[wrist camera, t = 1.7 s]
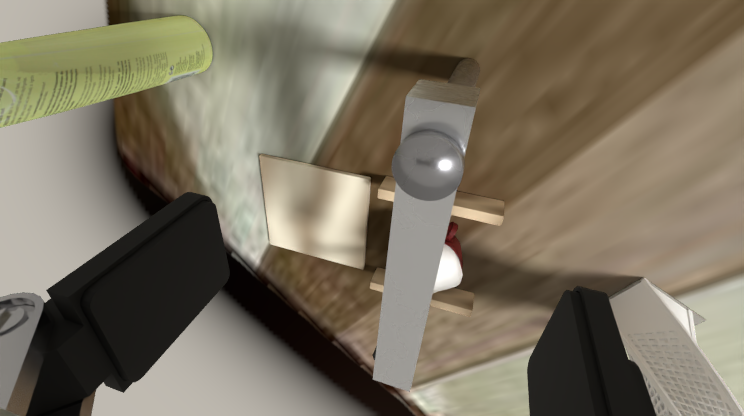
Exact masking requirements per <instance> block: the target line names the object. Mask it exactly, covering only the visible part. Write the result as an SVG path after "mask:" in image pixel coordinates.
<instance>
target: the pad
mask: <svg viewBox="0 0 744 416" xmlns="http://www.w3.org/2000/svg"><path fill="white" fill-rule="evenodd" d="M259 159H260V167H261V175H262V183H263V191H264V199H265V207H266V215H267V223H268V231H269V239H270V244H271V245H275V246H279V247H282V248H286V249H290V250H293V251H297V252H301V253H304V254H308V255H312V256H315V257H319V258H322V259H326V260H330V261H333V262H337V263H341V264H344V265H348V266H352V267H355V268H359V269H364V267H365V253H366V239H367V225H368V211H369V197H370V183H371V177H367V176H363V175H358V174H353V173H349V172H344V171H339V170H335V169H330V168H326V167H321V166H316V165H312V164H307V163H302V162H298V161H293V160H289V159H284V158H279V157H275V156H270V155H265V154H261V155H259Z"/></svg>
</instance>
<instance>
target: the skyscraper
mask: <svg viewBox="0 0 744 416" xmlns="http://www.w3.org/2000/svg"><path fill="white" fill-rule="evenodd" d="M608 298H609V301H610V304H611V307H612V310H613V314H614V317H615V320H616V323H617V326H618V329H619V332H620V335H621V339H622V342H623V345H624V346H625V348H626V350H627V352H628V355H629V358H630V360H631V361H634V362H635V363H636V364H637V365H638V366H639V368H640V370H641V372H642V375H643V378H644V381H645V384H646V386H647V389H648V392H649V395H650V398H651V401H652V404H653V407H654V410H655V413H656V416H744V410H743V409H742V407H741V406H740V404H739V403H738V401H737V400H736V398H735V397H734V395H733V394H732V392H731V391H730V389H729V388H728V386H727V385H726V383H725V382H724V380H723V379H722V377H721V376H720V375H719V373H718V372H717V370H716V369H715V368H714V366H713V365H712V363H711V362H710V361H709V359H708V358H707V356H706V355H705V354H704V352H703V351H702V349H701V348H700V347H699V345H698V344H697V341H696V334H695V327H694V326H695V325H698V324H700V323H702V322H704V321H706V319H704V318H703V317H701V316H700V315H698V314H697V313H695V312H694V311H693V310H691V309H690V308H688V307H687V306H685V305H684V304H682V303H681V302H679V301H678V300H676V299H675V298H673V297H672V296H670V295H669V294H667V293H666V292H665V291H663V290H662V289H660V288H659V287H657V286H656V285H654V284H653V283H651V282H650V281H648V280H647V279H646V278H644V277H643V278H641V279H640V280H638V281H636V282H634V283H633V284H631V285H629V286H627V287H626V288H624V289H622V290H621V291H619V292H617V293H615V294H614V295H612V296H610V297H608Z"/></svg>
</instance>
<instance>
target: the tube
mask: <svg viewBox="0 0 744 416" xmlns="http://www.w3.org/2000/svg"><path fill="white" fill-rule="evenodd" d="M211 61H212V46H211V42H210V40H209V37H208V35H207V33H206V32H205V30H204V29H203V28H202V27H201V26H200V24H199V23H197V22H196V21H195V20H193V19H192V18H190V17H187V16H171V17H164V18H157V19H150V20H143V21H136V22H130V23H123V24H117V25H110V26H103V27H97V28H91V29H85V30H78V31H72V32H65V33H58V34H52V35H45V36H39V37H33V38H27V39H20V40H14V41H8V42H2V43H0V128H1V127H5V126H9V125H13V124H17V123H21V122H25V121H29V120H33V119H37V118H41V117H45V116H49V115H53V114H57V113H61V112H64V111H68V110H72V109H76V108H79V107H83V106H86V105H90V104H94V103H98V102H101V101H105V100H108V99H112V98H116V97H120V96H123V95H127V94H131V93H134V92H138V91H141V90H145V89H148V88H152V87H155V86H158V85H162V84H166V83H169V82H172V81H175V80H179V79H182V78H186V77H189V76H192V75H195V74H199V73H201V72H204V71H205V70H206V69H207V68H208V67H209V66H210V64H211Z"/></svg>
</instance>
